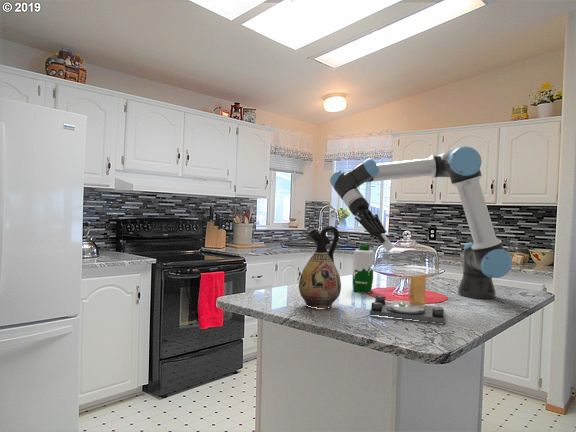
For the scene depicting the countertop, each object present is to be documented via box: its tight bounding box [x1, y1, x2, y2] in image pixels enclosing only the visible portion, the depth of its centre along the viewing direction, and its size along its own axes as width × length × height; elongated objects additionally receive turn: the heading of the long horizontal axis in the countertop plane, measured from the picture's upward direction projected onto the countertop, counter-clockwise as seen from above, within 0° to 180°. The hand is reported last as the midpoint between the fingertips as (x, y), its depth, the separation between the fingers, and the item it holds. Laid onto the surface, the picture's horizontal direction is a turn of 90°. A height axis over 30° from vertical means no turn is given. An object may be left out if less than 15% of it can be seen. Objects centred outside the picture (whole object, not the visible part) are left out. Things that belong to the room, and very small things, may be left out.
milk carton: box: [352, 244, 375, 293], centre depth 193 cm, size 9×9×20 cm
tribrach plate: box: [369, 294, 446, 324], centre depth 154 cm, size 24×17×4 cm
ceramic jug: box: [298, 225, 342, 309], centre depth 161 cm, size 17×15×30 cm
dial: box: [386, 273, 427, 314], centre depth 154 cm, size 18×13×11 cm
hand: (390, 248), depth 163 cm, fingers closed
